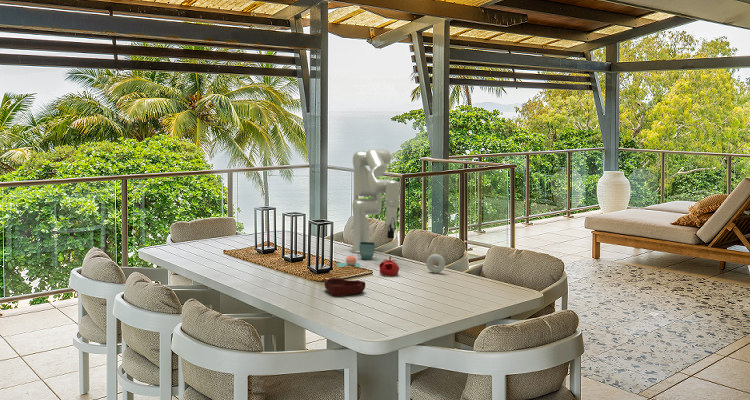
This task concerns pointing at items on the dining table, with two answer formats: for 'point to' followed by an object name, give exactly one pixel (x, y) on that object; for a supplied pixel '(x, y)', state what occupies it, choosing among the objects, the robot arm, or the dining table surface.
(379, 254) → the dining table surface
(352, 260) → the ball
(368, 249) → the flower pot
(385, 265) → the pomegranate
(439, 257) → the donut
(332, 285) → the dark red shallow dish
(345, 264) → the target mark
